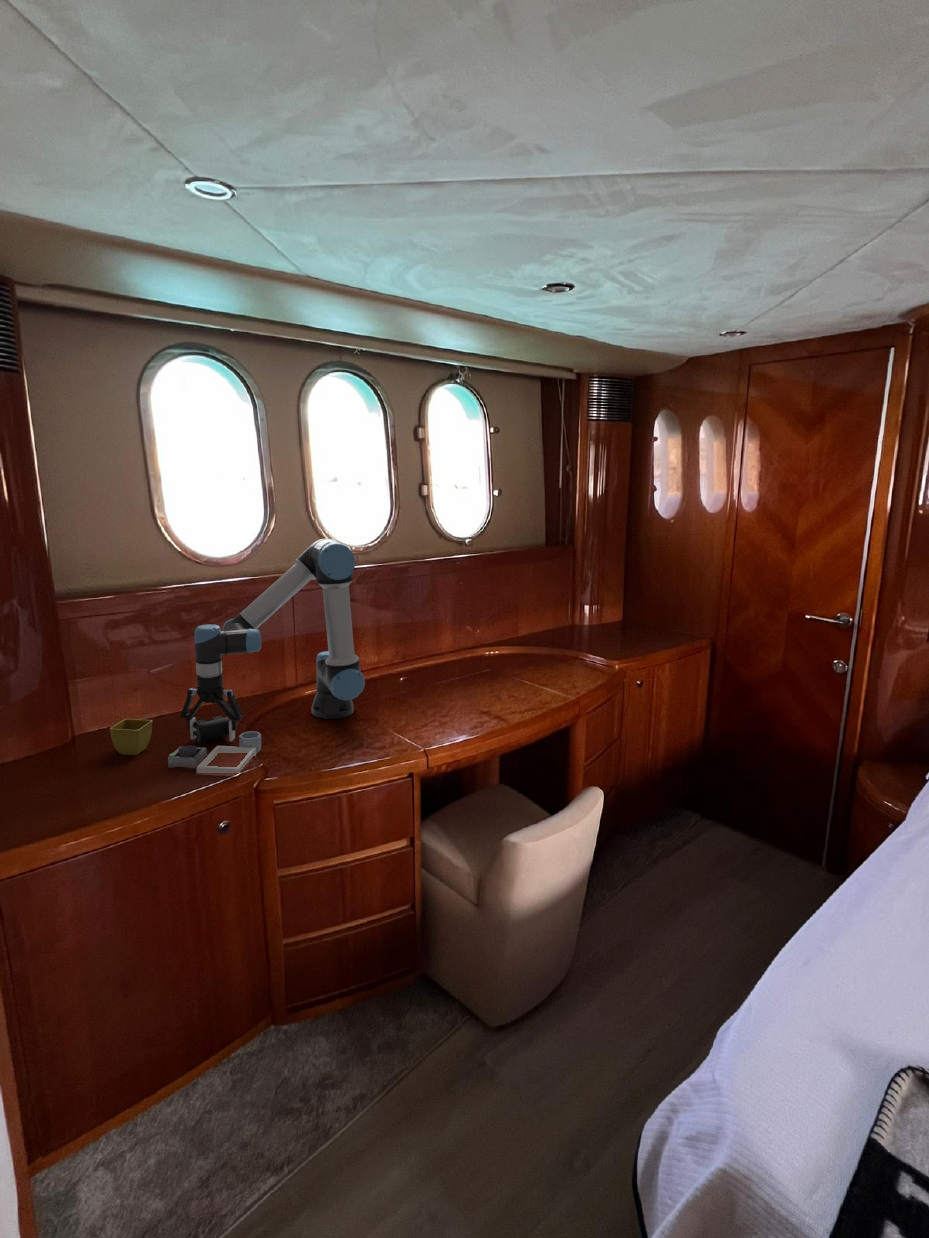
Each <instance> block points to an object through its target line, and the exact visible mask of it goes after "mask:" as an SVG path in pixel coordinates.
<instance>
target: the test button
mask: <svg viewBox="0 0 929 1238" xmlns="http://www.w3.org/2000/svg"><path fill="white" fill-rule="evenodd" d="M197 747H198V746H196V745H184V746H182V747H181V748H179V747H178V748H179V749H178V748H177V749H178V754H179V756H180V757H194V756H195V755H196V754H197Z"/></svg>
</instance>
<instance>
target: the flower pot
mask: <svg viewBox="0 0 929 1238" xmlns="http://www.w3.org/2000/svg"><path fill="white" fill-rule="evenodd" d="M152 730H153V720H152V719H140V718H139V719H137V718H124V719H123V720H121V721H119V722H117V723H116V724H114V725H113V726H111V727H110V728H109V731H110V736H111V737H110V738H111V740H112V744H113V746H114V747H113V748H115V749H116V751H117V752H118V753H119V754H120V755H129V756H137V755H139V754H140V753H142V752H143V751H144V750H146V749H147V747H148V745H149V743H150V742H151V741H150V740H151V737H152Z"/></svg>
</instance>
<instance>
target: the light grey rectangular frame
mask: <svg viewBox="0 0 929 1238" xmlns="http://www.w3.org/2000/svg"><path fill="white" fill-rule="evenodd" d="M218 753H247V755H246V756H245V758H244V759H243V760H242V761H241V762H240V764H239V765H238V766H237V767H218V766H207V765H208V764H209V763H210V762H211V761H212V760H213V759H214V758H215V756H217V754H218ZM253 756H255V757H256V756H257V753H256V748H253V747H239V746H232V745H228V746H227V745H216V747H214V749H212V751H211V752H209V753H208V754H207V757H206V758H205V759H204V760H203V761H202V762H201V763H200V764H199V765H198V766H197V768H196V774H197V773H240V771H241V770H242V769H243V767H245V765H246V764H247V763H248V762H249V760H250V759H251V758H252V757H253Z"/></svg>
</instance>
